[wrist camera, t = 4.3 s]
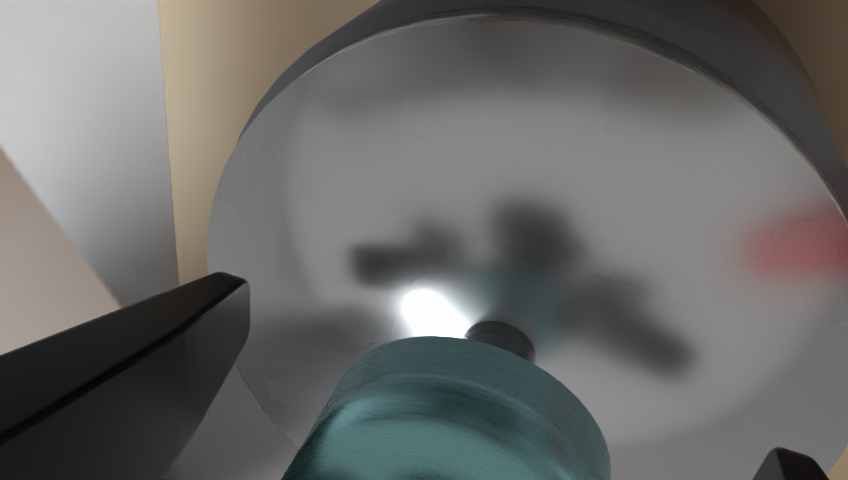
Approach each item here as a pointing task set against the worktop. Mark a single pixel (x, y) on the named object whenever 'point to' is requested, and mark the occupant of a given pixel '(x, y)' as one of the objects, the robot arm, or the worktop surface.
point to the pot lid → (534, 260)
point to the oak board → (315, 20)
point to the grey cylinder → (671, 21)
